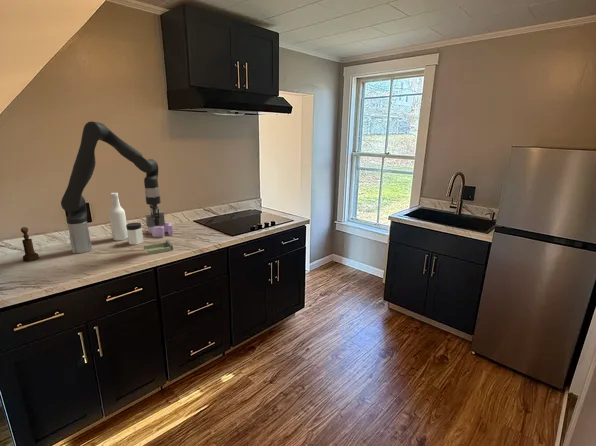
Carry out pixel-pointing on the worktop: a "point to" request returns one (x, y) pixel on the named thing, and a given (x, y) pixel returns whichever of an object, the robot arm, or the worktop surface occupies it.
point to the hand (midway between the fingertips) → (156, 224)
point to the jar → (134, 233)
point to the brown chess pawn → (28, 247)
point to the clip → (161, 230)
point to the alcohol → (117, 219)
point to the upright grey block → (151, 222)
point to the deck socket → (169, 248)
